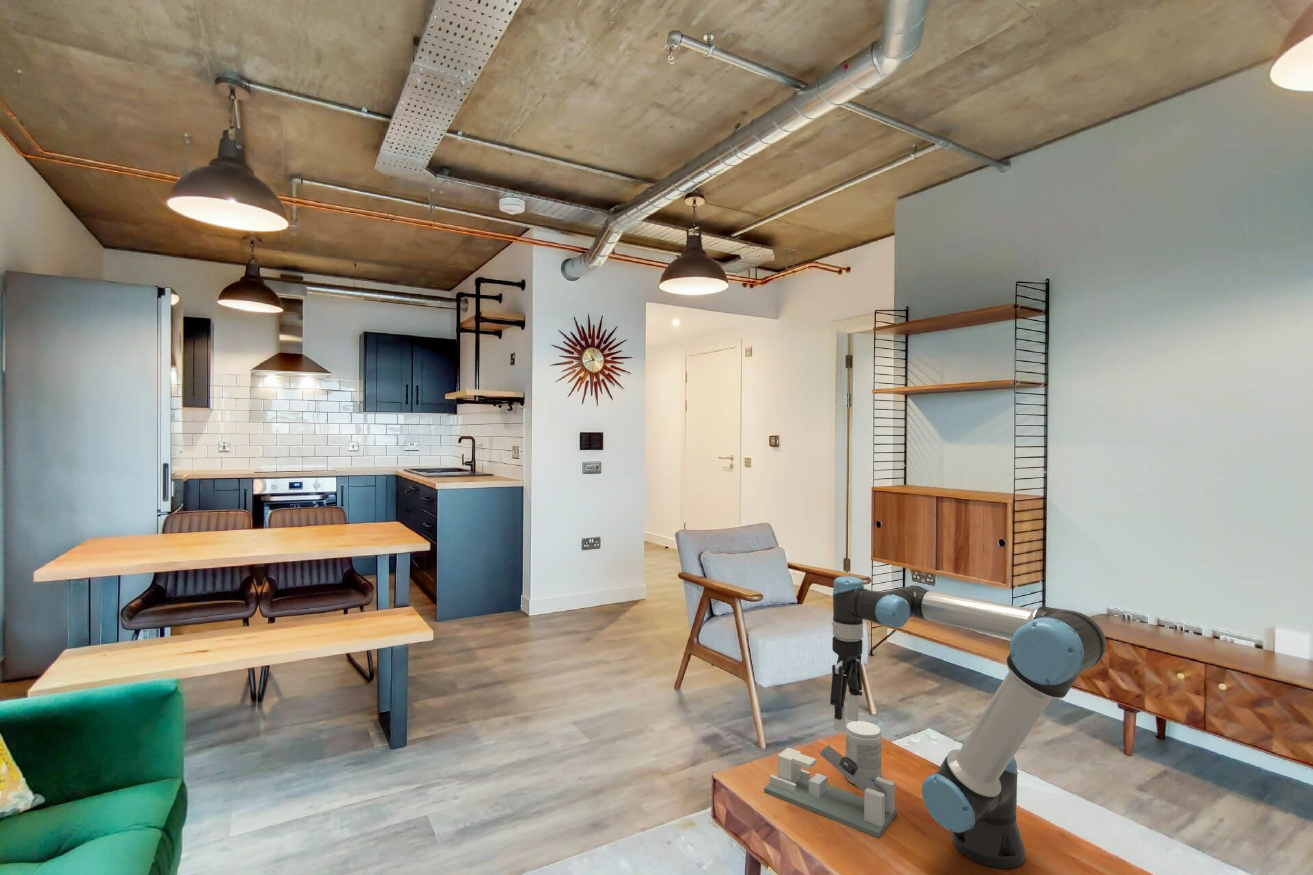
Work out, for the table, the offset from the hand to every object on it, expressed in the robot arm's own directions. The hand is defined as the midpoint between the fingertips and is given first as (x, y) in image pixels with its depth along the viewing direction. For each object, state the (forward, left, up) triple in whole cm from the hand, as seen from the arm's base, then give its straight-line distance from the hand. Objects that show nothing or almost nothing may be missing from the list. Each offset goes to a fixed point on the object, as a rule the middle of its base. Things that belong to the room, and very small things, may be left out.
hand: (846, 724), depth 167 cm
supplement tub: (+2, -17, -21) cm, 27 cm away
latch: (+14, 0, -20) cm, 24 cm away
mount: (+4, +1, -21) cm, 22 cm away
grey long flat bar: (-2, 0, -13) cm, 13 cm away
